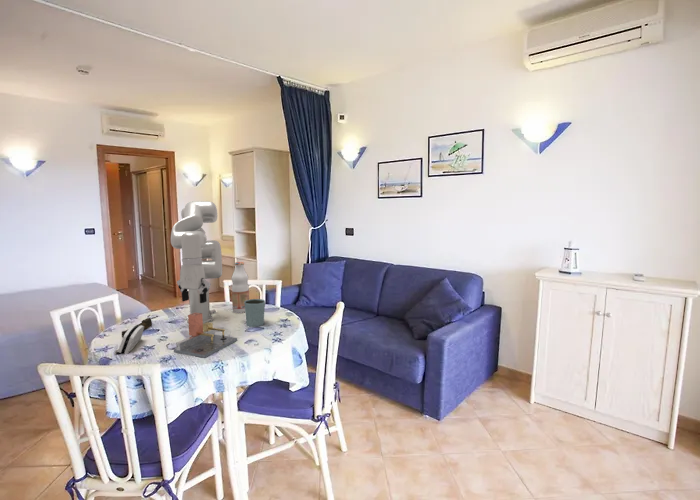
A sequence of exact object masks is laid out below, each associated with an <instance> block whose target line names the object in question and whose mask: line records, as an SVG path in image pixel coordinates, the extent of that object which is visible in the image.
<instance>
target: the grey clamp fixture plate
mask: <svg viewBox="0 0 700 500" xmlns="http://www.w3.org/2000/svg"><path fill="white" fill-rule="evenodd" d="M215 331H216V332H222V335H220V334H216V332H215ZM225 332H226V329H225V328H218V327H214V324H213V322H207V323H204V324H203V333H207V334H214V337H213V344H211V337H210V336H203V335H199V336H197V337H196V336H188V337H186V338H183V339H182V340H180V341H177V342H176V343H175V345H176V346H175V348H174V349H173V353H176V354H183V355H186V356H187V355H188V356H192V357H198V358H202V359H203V358H204V359H206V358H207V357H208V356H209V357H210V356H211V355H213V354H214V353H217V352H218V351H220V350H223V349H224V348H226V347H227V346H230V345H231V344H233V343H235V342H237V341H238V337H233V336H225Z"/></svg>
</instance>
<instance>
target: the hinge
mask: <svg viewBox="0 0 700 500" xmlns="http://www.w3.org/2000/svg"><path fill="white" fill-rule="evenodd" d="M127 330H128V331H127V332H126V333H125V335H124V336H123V338H122V339H121V342H120V345H119V346H118V347H117V348H116V350H114V353H113V355H117V354H118V353H121V354H122V353H124V354H125V355H127V354H129V353H130V352H131V351H132V350H133V348H135V346H137V344H138V343H139V342H140V341H141V339H142V336H143V334H144V333H143V332H144V330H145V329H144V326H142V325H141V326H139V325H138V324H132V325H131V326H130V327H129V328H128V329H127Z"/></svg>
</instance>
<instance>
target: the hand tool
mask: <svg viewBox="0 0 700 500" xmlns="http://www.w3.org/2000/svg"><path fill="white" fill-rule="evenodd" d="M137 325H139V326H141V325H142V326H144V330H149V329H150V328H151V327H152V325H153V320H152V318H151V317H147V318H144V319H143V320H142V321H141V322H140V323H138V324H137ZM127 331H128V329H126V330H122V331H121V337H122V339H123V336H124V335H125V333H126V332H127Z"/></svg>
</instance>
